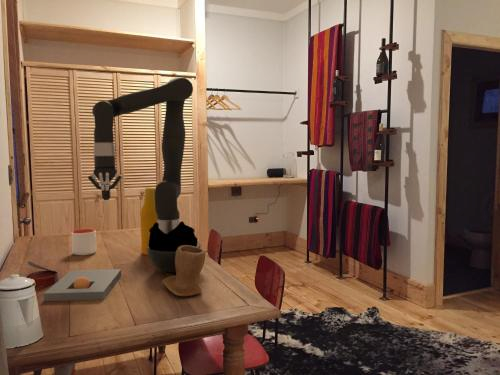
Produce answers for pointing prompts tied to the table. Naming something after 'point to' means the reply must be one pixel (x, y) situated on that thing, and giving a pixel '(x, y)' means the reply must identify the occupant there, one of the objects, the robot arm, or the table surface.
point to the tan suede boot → (186, 271)
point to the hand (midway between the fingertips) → (106, 199)
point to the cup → (84, 241)
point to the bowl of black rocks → (169, 245)
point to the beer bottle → (147, 218)
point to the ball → (82, 283)
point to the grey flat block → (97, 291)
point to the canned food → (43, 276)
